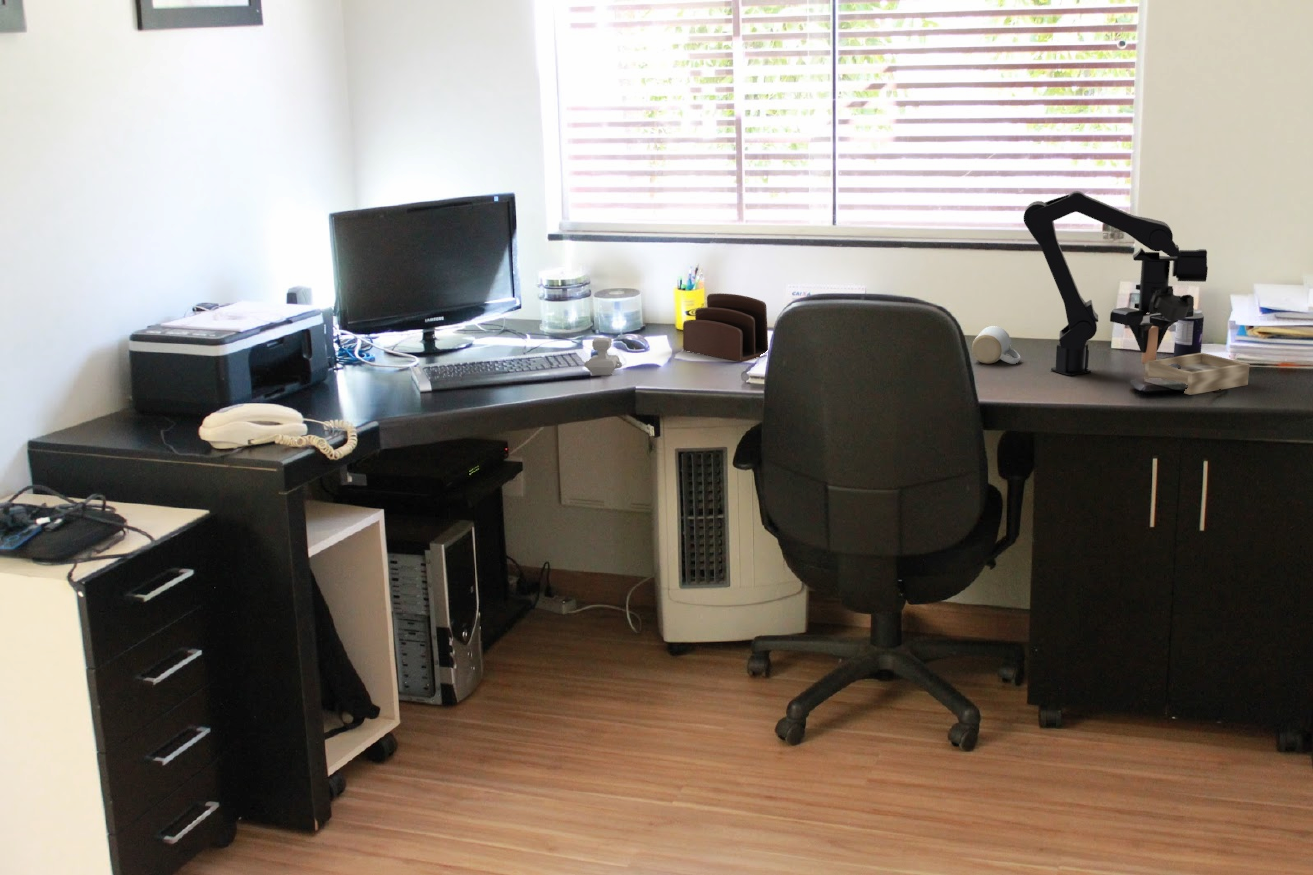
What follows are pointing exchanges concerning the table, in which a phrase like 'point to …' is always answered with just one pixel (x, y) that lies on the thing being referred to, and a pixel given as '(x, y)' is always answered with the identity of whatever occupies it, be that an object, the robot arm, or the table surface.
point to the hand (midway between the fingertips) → (1149, 351)
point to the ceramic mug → (994, 346)
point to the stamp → (602, 358)
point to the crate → (1200, 372)
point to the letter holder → (728, 328)
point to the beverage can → (1189, 334)
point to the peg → (1151, 345)
